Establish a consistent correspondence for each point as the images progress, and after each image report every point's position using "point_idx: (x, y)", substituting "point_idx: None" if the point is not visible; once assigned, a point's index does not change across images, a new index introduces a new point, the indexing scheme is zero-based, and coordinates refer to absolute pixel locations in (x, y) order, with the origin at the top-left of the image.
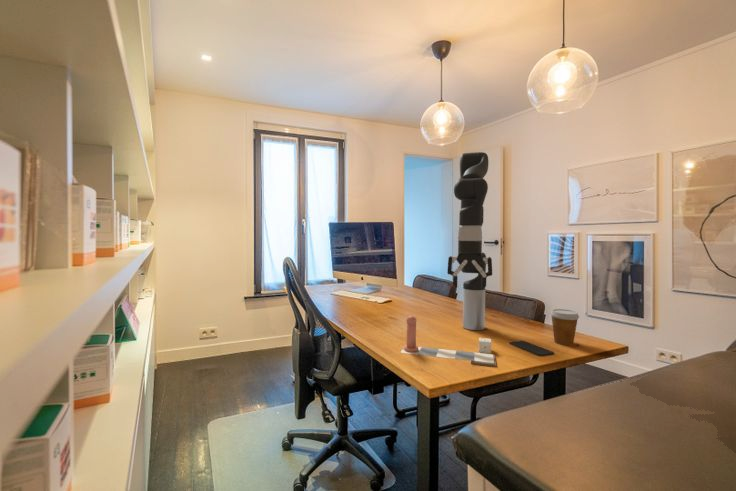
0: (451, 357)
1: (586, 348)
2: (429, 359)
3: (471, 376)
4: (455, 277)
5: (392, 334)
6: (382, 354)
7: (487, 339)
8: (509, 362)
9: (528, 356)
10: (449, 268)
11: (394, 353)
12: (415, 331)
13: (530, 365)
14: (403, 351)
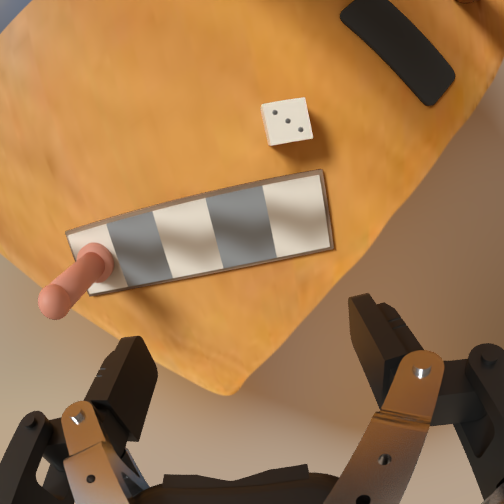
0: (211, 264)
1: (493, 20)
2: None
3: (284, 329)
4: (126, 435)
5: (2, 144)
6: None
7: (295, 110)
8: (362, 194)
9: (404, 119)
10: (62, 494)
11: None
12: (83, 288)
13: (409, 192)
14: None
